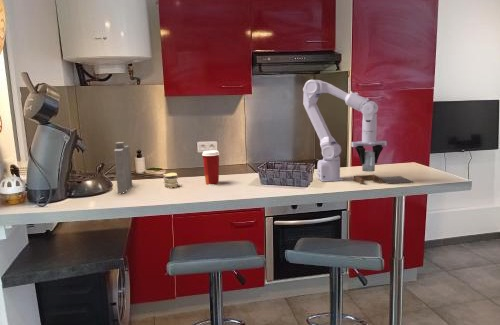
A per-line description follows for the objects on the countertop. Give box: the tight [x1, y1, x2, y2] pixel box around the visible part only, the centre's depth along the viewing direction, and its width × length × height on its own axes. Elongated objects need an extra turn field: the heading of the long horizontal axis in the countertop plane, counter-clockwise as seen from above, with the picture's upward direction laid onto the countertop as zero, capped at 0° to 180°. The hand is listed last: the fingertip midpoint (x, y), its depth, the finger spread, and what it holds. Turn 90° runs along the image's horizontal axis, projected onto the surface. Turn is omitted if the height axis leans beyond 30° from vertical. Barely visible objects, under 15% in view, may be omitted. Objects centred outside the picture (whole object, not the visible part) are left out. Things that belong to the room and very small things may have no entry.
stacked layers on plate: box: [162, 172, 179, 189], centre depth 174 cm, size 10×9×6 cm
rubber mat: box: [379, 175, 414, 185], centre depth 172 cm, size 11×11×1 cm
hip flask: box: [113, 141, 133, 194], centre depth 170 cm, size 16×4×20 cm, turn 5°
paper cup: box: [201, 150, 220, 185], centre depth 177 cm, size 8×8×14 cm
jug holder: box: [353, 174, 383, 185], centre depth 171 cm, size 9×8×2 cm
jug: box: [361, 150, 376, 173], centre depth 168 cm, size 5×7×8 cm
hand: (368, 163), depth 170 cm, fingers closed on jug, 5 cm apart
